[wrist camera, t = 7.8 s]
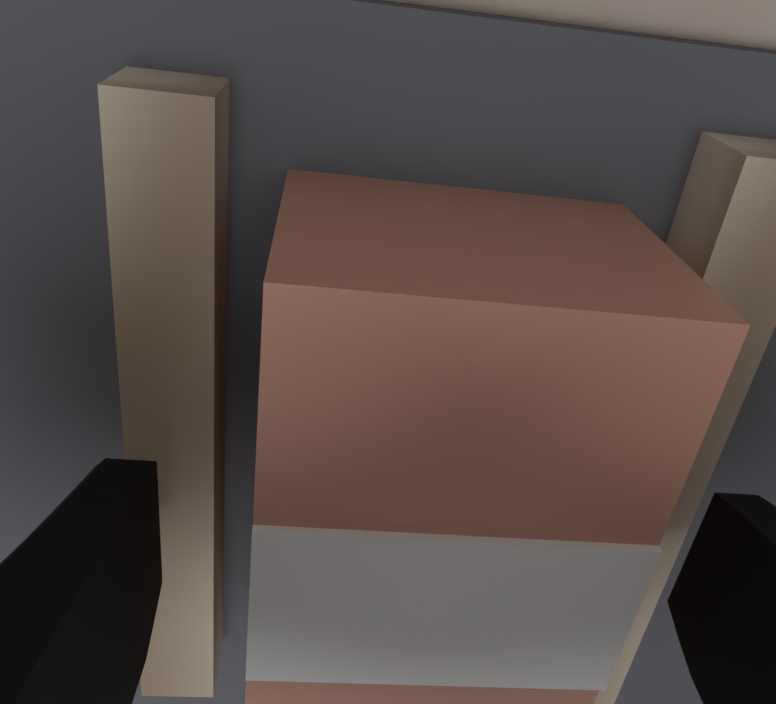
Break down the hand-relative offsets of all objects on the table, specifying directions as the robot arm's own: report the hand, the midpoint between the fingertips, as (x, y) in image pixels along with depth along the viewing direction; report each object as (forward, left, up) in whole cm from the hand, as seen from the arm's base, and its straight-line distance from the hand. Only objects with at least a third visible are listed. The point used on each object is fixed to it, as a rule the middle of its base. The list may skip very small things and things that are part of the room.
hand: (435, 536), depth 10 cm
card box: (0, 0, -2) cm, 2 cm away
